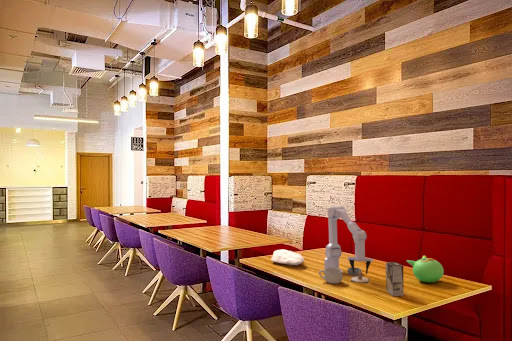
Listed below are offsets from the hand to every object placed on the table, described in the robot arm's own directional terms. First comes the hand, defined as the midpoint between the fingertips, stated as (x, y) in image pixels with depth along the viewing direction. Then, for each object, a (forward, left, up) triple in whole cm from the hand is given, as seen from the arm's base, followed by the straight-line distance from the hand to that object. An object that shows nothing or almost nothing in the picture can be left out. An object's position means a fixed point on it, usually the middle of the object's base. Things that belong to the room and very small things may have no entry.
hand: (360, 273), depth 227 cm
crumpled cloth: (-53, +29, -5) cm, 61 cm away
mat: (0, 0, -5) cm, 5 cm away
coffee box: (+20, -18, -5) cm, 27 cm away
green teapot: (+38, +13, -5) cm, 40 cm away
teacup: (-16, -10, -5) cm, 20 cm away
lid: (0, 0, -4) cm, 4 cm away
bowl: (-5, +14, -5) cm, 16 cm away
